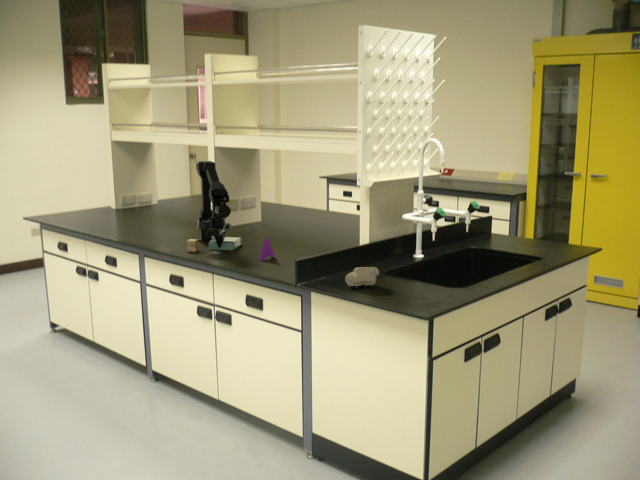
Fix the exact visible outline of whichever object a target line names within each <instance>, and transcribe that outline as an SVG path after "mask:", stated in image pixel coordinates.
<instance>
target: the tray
mask: <svg viewBox="0 0 640 480" xmlns="http://www.w3.org/2000/svg"><path fill="white" fill-rule="evenodd" d="M208 250H215V251H216V250H217V251H234V249H233V242H231V243H222V246H221V247H220V248H218V245H217V242H216V243H213V242H210V241H208Z"/></svg>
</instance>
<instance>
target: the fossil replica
mask: <svg viewBox="0 0 640 480" xmlns="http://www.w3.org/2000/svg"><path fill="white" fill-rule="evenodd" d="M379 274H380V271H379V269H378V267H375V266H369V267H368V266H366V267H365V266H363V267H362V266H360V267H355V268H354V269H353V271H351V272H349V273H347V274H346V275H345V283H346V284H347V286H349V287H351V286H361V285H372V286H374V285H375V284H376V280H377V276H379ZM361 287H362V286H361Z"/></svg>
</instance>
